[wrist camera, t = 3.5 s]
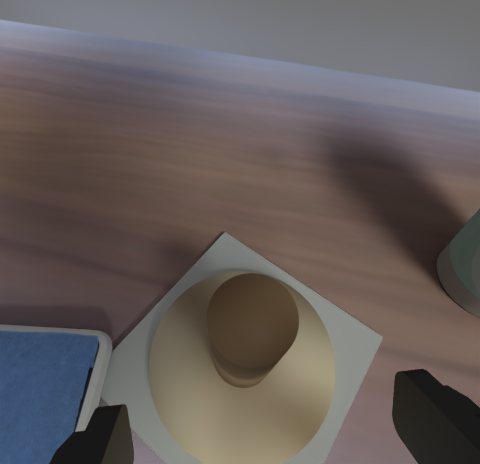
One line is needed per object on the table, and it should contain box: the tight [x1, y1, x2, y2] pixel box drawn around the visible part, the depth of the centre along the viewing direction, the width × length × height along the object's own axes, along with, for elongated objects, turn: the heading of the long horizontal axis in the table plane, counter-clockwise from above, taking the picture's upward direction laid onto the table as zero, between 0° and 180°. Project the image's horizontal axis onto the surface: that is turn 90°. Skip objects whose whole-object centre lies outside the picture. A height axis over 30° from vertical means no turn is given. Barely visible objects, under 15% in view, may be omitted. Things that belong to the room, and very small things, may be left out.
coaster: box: [101, 232, 383, 464], centre depth 17 cm, size 12×12×1 cm
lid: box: [149, 271, 335, 464], centre depth 14 cm, size 10×10×8 cm
